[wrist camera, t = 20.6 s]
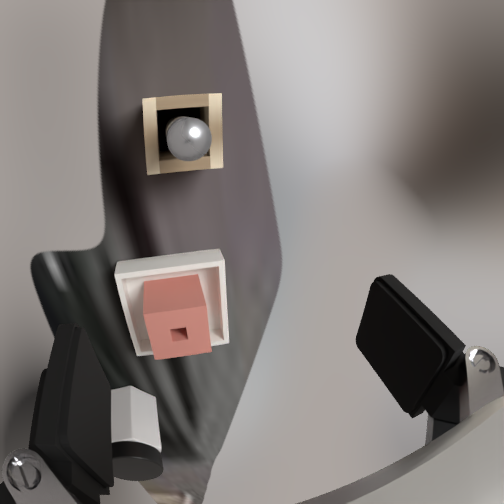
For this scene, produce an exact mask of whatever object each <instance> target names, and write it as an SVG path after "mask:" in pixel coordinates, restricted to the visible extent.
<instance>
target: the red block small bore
mask: <svg viewBox="0 0 504 504" xmlns="http://www.w3.org/2000/svg"><path fill="white" fill-rule="evenodd" d="M143 316H144V320H145V324H146V328H147V332H148V336H149V339H150V343H151V347H152V350H153V354H154V357H155V360H158V359H166V358H173V357H181V356H187V355H194V354H201V353H207V352H212V349H211V341H210V332H209V323H208V314H207V305H206V302H205V298H204V294H203V291H202V287H201V283H200V279H199V276H198V274H195V275H188V276H180V277H173V278H165V279H158V280H150V281H144V295H143Z"/></svg>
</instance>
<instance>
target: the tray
mask: <svg viewBox="0 0 504 504" xmlns="http://www.w3.org/2000/svg"><path fill="white" fill-rule="evenodd" d="M195 274H198V276H199V279H200V283H201V287H202V291H203V294H204V298H205V302H206V305H207V314H208V323H209V332H210V341H211V346H215V345H221V344H226V343H229V332H228V315H227V298H226V280H225V260H224V258H223V256H222V253H221V251H220V249H211V250H203V251H195V252H187V253H179V254H172V255H164V256H156V257H148V258H141V259H133V260H125V261H118V262H117V264H116V269H115V274H114V275H115V279H116V283H117V288H118V292H119V295H120V299H121V303H122V307H123V311H124V314H125V318H126V321H127V325H128V328H129V332H130V335H131V338H132V341H133V345H134V348H135V351H136V354H137V356H144V355H152V354H153V350H152V347H151V343H150V339H149V336H148V332H147V328H146V324H145V320H144V316H143V295H144V281H150V280H158V279H165V278H173V277H180V276H188V275H195Z"/></svg>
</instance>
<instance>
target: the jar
mask: <svg viewBox="0 0 504 504" xmlns="http://www.w3.org/2000/svg"><path fill="white" fill-rule="evenodd" d="M111 438H112V461H113V476H114V477H116V478H120V479H124V480H130V481H144V480H150V479H154V478H156V477H158V476H160V475H161V474H162V473H163V464H162V457H161V441H160V433H159V424H158V415H157V405H156V397H154V396H152V395H150V394H148V393H146V392H143V391H141V390H139V389H137V388H135V387H133V386H131V385H130V386H126V387H122V388H118V389H113V390H111Z"/></svg>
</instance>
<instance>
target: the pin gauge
mask: <svg viewBox="0 0 504 504" xmlns="http://www.w3.org/2000/svg"><path fill="white" fill-rule="evenodd" d="M165 132H166V138H167V145H168V148H169V150H170V152H171V153H172V154H173V155H174V156H175V157H176V158H178V159H180V160H182V161H195V160H197V159H200V158H201V157H203V156H204V155H205V154H206V153H207V152H208V150H209V148H210V146H211V142H212V135H211V131H210V129H209V127H208V126H207V125H206V124H205V123H204V122H203V121H201V120H199V119H197V118H191V117H185V116H176V117H173V118H172V119H170V120H169V121H168V123H167V125H166V128H165Z"/></svg>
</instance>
